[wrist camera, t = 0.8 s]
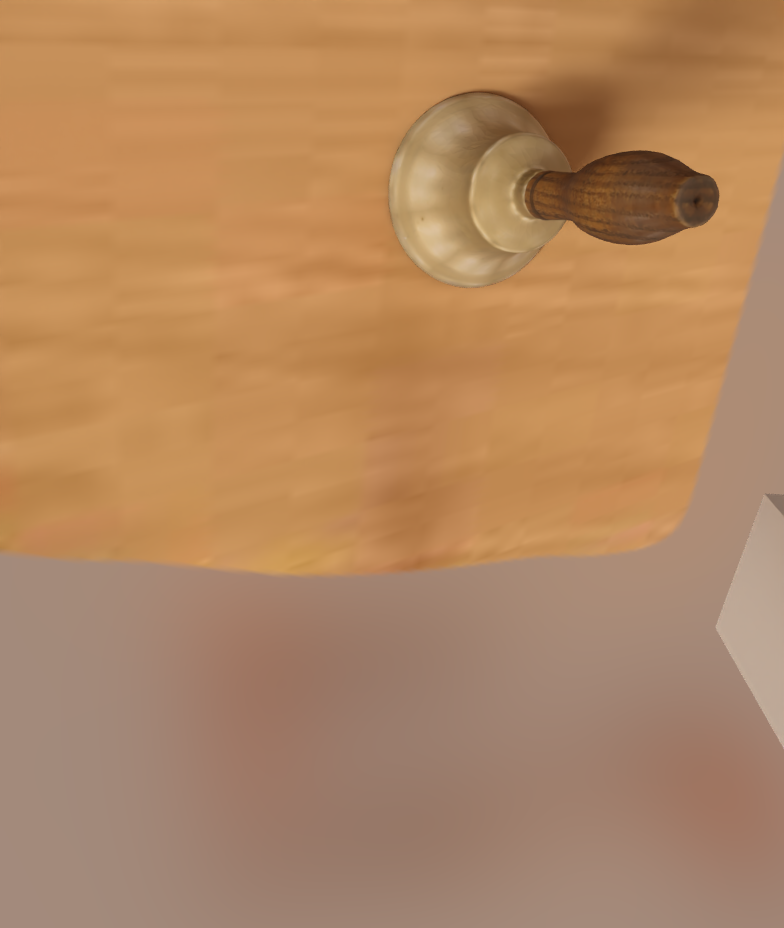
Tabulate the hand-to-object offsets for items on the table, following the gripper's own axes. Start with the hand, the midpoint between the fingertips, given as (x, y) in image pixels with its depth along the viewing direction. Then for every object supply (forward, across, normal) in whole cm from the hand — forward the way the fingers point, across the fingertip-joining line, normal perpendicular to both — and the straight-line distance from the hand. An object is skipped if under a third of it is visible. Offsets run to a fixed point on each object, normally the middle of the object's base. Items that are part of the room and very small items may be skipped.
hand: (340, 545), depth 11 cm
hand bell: (+25, +4, +2) cm, 26 cm away
